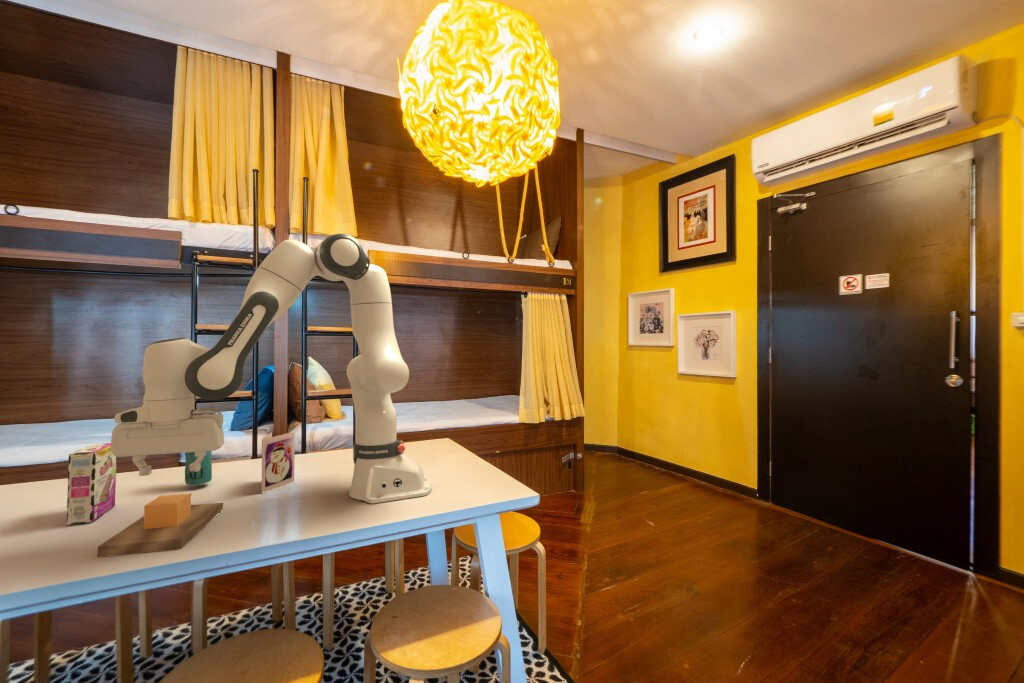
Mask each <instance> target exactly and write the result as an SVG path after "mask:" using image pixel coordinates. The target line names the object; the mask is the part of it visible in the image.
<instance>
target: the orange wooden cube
mask: <svg viewBox="0 0 1024 683" xmlns="http://www.w3.org/2000/svg"><path fill="white" fill-rule="evenodd" d="M191 505H192V493H180V494H167V495H159V496H158V497H156V498H154V499H152V500H151V501H149V502H148V503H146V504H144V506H143V516H144V529H152V528H163V527H174V526H178V525H179V524H180V523H182V522H183V521H184V520H185V519H187V518H188V517H189V516H190V515H191Z"/></svg>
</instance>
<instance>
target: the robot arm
mask: <svg viewBox="0 0 1024 683" xmlns="http://www.w3.org/2000/svg"><path fill="white" fill-rule="evenodd" d="M364 250H365V249H364V248H363V247H362V244H360V242H359V241H358V239H356V238H355V237H353V236H351V235H350V234H345V233H334V234H331V235H329V236H326V238H325V239H323V240H322V241H321V242H320V243H318V244H317V245H316V246H309V245H307V244H306V243H304V242H302V241H299V240H296V239H285V240H282V241H281V242H280V243H279V244H278V245H277V246H275V247H274V248H273V250H271V251H270V253H269V254H268V255H266V257H265V258H264V259H263V260H262V261H261V263H260V265H259V266H258V267H257V269H256V270H255V271H254V273H253V275H252V276H251V278H250V279H249V282H248V284H247V287H246V288H245V292H244V295H243V299H242V303H241V306H240V309H239V310H238V313H237V315H236V316H235V318H234V320H232V322H231V323H230V324H229V326H228V328H227V329H226V331H225V332H224V333H223V335H222V336H221V337H220V338H219V340H218V341H217V342H216V344H215V345H214V346H212V348H208V347H205V346H203V345H200V344H198V343H196V342H194V341H193V340H191V339H190V338H188V337H177V338H176V337H175V338H174V337H173V338H168V339H162V340H157V341H154V342H152V343H150V344H149V345H148V346H147V347H146V349H145V351H144V355H143V363H142V380H143V381H142V382H143V384H144V386H145V387H144V388H145V389H144V390H145V391H144V392H145V393H144V394H143V399H142V403H143V404H142V405H138V406H135V407H133V408H131V409H128V410H124V411H121V412H118V413H116V414H115V416H114V422H115V423H116V425H115V426H114V427H113V429H112V431H111V432H112V433H111V440H110V443H111V453H112V454H113V455H114V456H115V457H117V458H122V457H132V458H131V460H132V462H133V463H134V465H135V466H136V467H137V468H138V475H139V477H142V476H144V477H145V476H150V475H151V474H152V472H153V471H152V465H147V462H146V461H145V460H144V459H146V457H147V456H151V455H152V456H153V455H154V456H155V455H168V454H169V455H170V454H183V453H184V454H186V452H195V457H197V456H198V457H197V459H196V461H195V462H193V463H192V464H190V465H189V468H190V470H189V471H190V472H198V471H199V470H200V469H201V461H202V460H203V458H204V457H205V455H206V451H212V452H213V451H214V452H215V451H217V450H219V449H221V448H222V446H224V444H225V435H224V429H223V425H224V415H223V413H222V412H220V411H219V410H216V408H215V409H214V408H210V409H195V404H196V402H195V397H197V398H199V399H203V400H205V401H219V400H223V399H226V398H229V397H230V396H231V395H233V394H234V393H236V392H237V390H238V389H239V388H240V386H241V385H242V382H243V377H244V367H245V363H246V360H247V359H248V357H249V355H250V354H251V351H252V350H253V348H254V347H255V345H256V344H257V343H258V341H259V339H260V338H261V336H262V335H263V333H264V332H265V331H266V329H267V328H268V327H269V326H270V325H271V324H272V323H273V322H274V321H275V320H277V319H278V318H280V317H281V316H283V315H284V314H285V313H286V312H287V311H288V310H289V309H290V308H291V307H292V306H293V305H294V304H295V302H296V301H297V300H298V299H299V297H300V296H301V294H302V292H303V291H304V290H305V288H306V287H307V285H308V283H309V282H310V281H311V280H312V279H313V278H314V279H318V280H322V281H325V282H329V283H338V282H340V281H341V282H342V281H343V282H344V284H345V285H346V287H347V289H348V292H349V295H350V296H349V297H350V299H349V300H350V302H349V303H350V311H351V312H350V316H351V328H352V335H353V337H354V338H355V341H356V343H357V346H358V349H359V353H360V354H359V355H357V356H356V357H354V358H352V359H351V360H350V362H349V363H348V365H347V367H346V376H347V379H348V381H349V385H350V389H351V390H350V391H351V396H352V403H353V408H354V415H355V416H354V417H355V418H354V419H355V427H354V429H355V433H354V434H355V436H354V437H355V439H354V440H355V441H354V443H353V447H352V460H353V464H354V465H353V473H352V474H353V475H352V479H351V484H350V488H349V490H348V496H349V497H351V498H352V499H354V500H359V501H365V502H366V503H368V504H379V503H385V502H391V501H397V500H398V501H399V500H404V499H412V498H419V497H424V496H427V495H429V494H430V493H431V491H432V482H431V480H430V479H428V478H427V477H425V476H424V471H423V468H422V466H421V464H420V463H419V462H418V461H416V460H414V459H413V458H412V457H411V456H410V455H408V454H406V453H404V452H405V451H406V445H405V444H404V442H403V440H399V439H398V438H397V412H396V411H397V410H396V408H395V406H394V404H393V400H392V398H391V394H393V393H397V392H399V391H401V390H403V389H404V388H405V387H406V386H407V384H408V382H409V380H410V369H409V366H408V364H407V363H406V362H405V361H404V358H403V356H402V353H401V350H400V347H399V343H398V340H397V337H396V332H395V326H394V313H393V304H392V303H393V300H392V294H391V288H390V287H391V286H390V283H389V280H388V275H387V272H386V271H385V269H383V267H380V266H379V265H376V264H371V260H370V259H369V257H368V256H367V254H366V252H365V251H364Z"/></svg>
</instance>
